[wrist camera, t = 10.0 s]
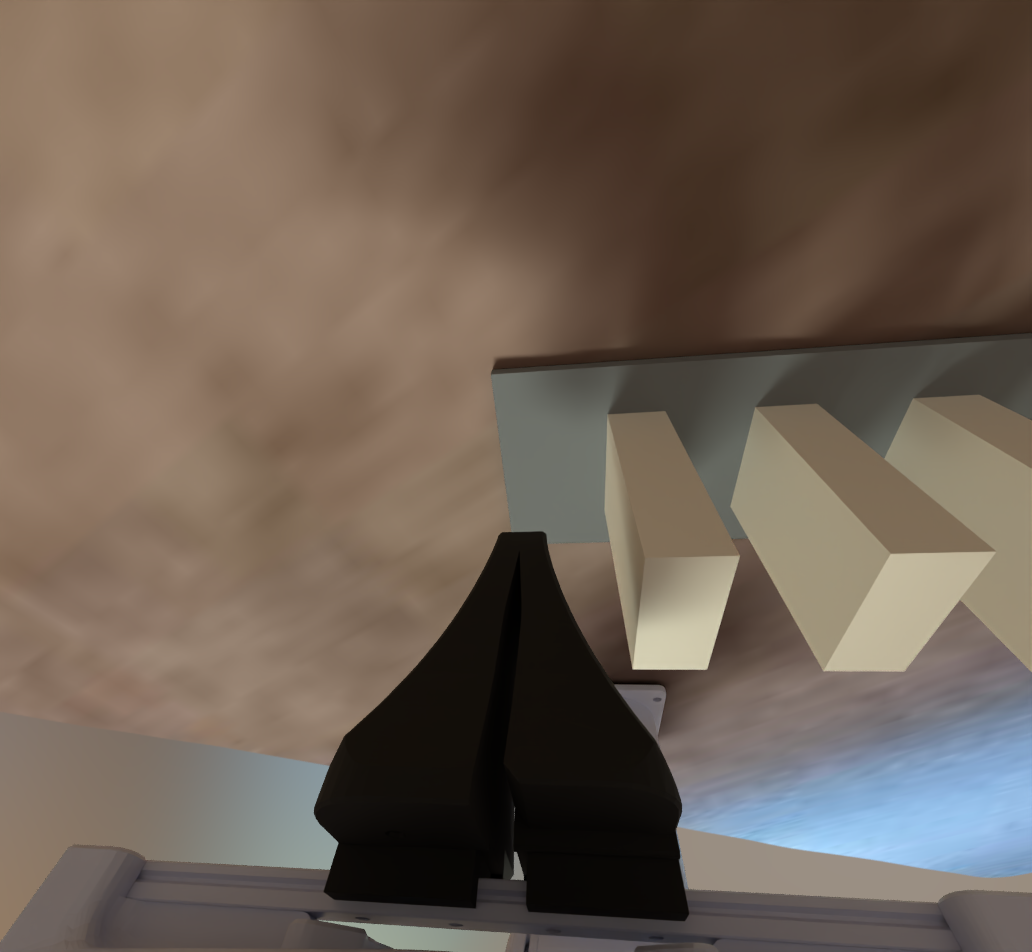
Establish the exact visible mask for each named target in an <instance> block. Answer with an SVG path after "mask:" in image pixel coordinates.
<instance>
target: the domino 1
mask: <svg viewBox="0 0 1032 952" xmlns="http://www.w3.org/2000/svg"><path fill="white" fill-rule="evenodd" d="M604 510H605V516H606V521H607V527H608V533H609V538H610V544H611V550H612V555H613V561H614V567H615V572H616V578H617V584H618V589H619V595H620V601H621V606H622V612H623V618H624V623H625V629H626V635H627V640H628V646H629V652H630V657H631V663H632V669H638V670H707V668H708V665H709V661H710V658H711V654H712V651H713V647H714V644H715V640H716V637H717V634H718V630H719V627H720V623H721V620H722V616H723V613H724V609H725V606H726V603H727V599H728V596H729V592H730V589H731V585H732V582H733V578H734V575H735V572H736V568H737V565H738V561H739V558H740V555H739V553H738V551H737V549H736V547H735V545H734V543H733V541H732V539H731V537H730V535H729V533H728V531H727V530H726V528H725V526H724V524H723V522H722V520H721V518H720V516H719V514H718V512H717V510H716V508H715V506H714V504H713V502H712V500H711V499H710V497H709V495H708V493H707V491H706V489H705V487H704V485H703V483H702V481H701V479H700V477H699V475H698V473H697V471H696V470H695V468H694V466H693V464H692V462H691V460H690V458H689V456H688V454H687V452H686V450H685V448H684V446H683V444H682V442H681V441H680V439H679V437H678V435H677V433H676V431H675V429H674V427H673V425H672V423H671V421H670V419H669V417H668V415H667V413H666V411H657V412H640V413H623V414H607V445H606V477H605V508H604Z"/></svg>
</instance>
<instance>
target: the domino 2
mask: <svg viewBox="0 0 1032 952" xmlns="http://www.w3.org/2000/svg"><path fill="white" fill-rule="evenodd" d="M730 507H731V508H732V510H733V512H734V514H735V516H736V517H737V519H738V521H739V523H740V524H741V526H742V528H743V530H744V531H745V533H746V535H747V537H748V539H749V540H750V542H751V544H752V546H753V547H754V549H755V551H756V553H757V554H758V556H759V558H760V560H761V562H762V563H763V565H764V567H765V569H766V570H767V572H768V574H769V576H770V577H771V579H772V581H773V583H774V585H775V586H776V588H777V590H778V592H779V593H780V595H781V597H782V599H783V600H784V602H785V604H786V606H787V608H788V609H789V611H790V613H791V615H792V616H793V618H794V620H795V622H796V623H797V625H798V627H799V629H800V631H801V632H802V634H803V636H804V638H805V639H806V641H807V643H808V645H809V646H810V648H811V650H812V652H813V654H814V655H815V657H816V659H817V661H818V662H819V664H820V666H821V668H822V669H823V671H905V670H906V669H907V667H908V666H909V665H910V663H911V662H912V661H913V660H914V658H915V657H916V656H917V654H918V653H919V652H920V650H921V649H922V648H923V647H924V645H925V644H926V643H927V641H928V640H929V639H930V637H931V636H932V635H933V634H934V632H935V631H936V630H937V628H938V627H939V626H940V625H941V623H942V622H943V621H944V619H945V618H946V617H947V615H948V614H949V613H950V612H951V610H952V609H953V608H954V606H955V605H956V604H957V602H958V601H959V600H960V599H961V597H962V596H963V595H964V593H965V592H966V591H967V589H968V588H969V587H970V586H971V584H972V583H973V582H974V580H975V579H976V578H977V577H978V575H979V574H980V573H981V571H982V570H983V569H984V567H985V566H986V565H987V564H988V562H989V561H990V560H991V558H992V557H993V556H994V554H995V553H996V552H997V551H995V550H994V549H993V548H992V547H991V546H989V545H988V544H987V543H986V542H985V541H983V540H982V539H981V538H980V537H978V536H977V535H976V534H975V533H974V532H972V531H971V530H970V529H969V528H968V527H966V526H965V525H964V524H963V523H961V522H960V521H959V520H958V519H957V518H955V517H954V516H953V515H952V514H950V513H949V512H948V511H947V510H946V509H944V508H943V507H942V506H941V505H940V504H938V503H937V502H936V501H935V500H933V499H932V498H931V497H930V496H929V495H927V494H926V493H925V492H924V491H923V490H921V489H920V488H919V487H918V486H916V485H915V484H914V483H913V482H912V481H910V480H909V479H908V478H907V477H906V476H904V475H903V474H902V473H901V472H899V471H898V470H897V469H896V468H895V467H893V466H892V465H891V464H890V463H889V462H887V461H886V460H885V459H884V458H882V457H881V456H880V455H879V454H878V453H876V452H875V451H874V450H873V449H872V448H870V447H869V446H868V445H867V444H865V443H864V442H863V441H862V440H861V439H859V438H858V437H857V436H856V435H855V434H853V433H852V432H851V431H850V430H848V429H847V428H846V427H845V426H844V425H842V424H841V423H840V422H839V421H838V420H836V419H835V418H834V417H833V416H831V415H830V414H829V413H828V412H827V411H825V410H824V409H823V408H822V407H821V406H819V405H818V404H802V405H784V406H766V407H755V410H754V414H753V418H752V422H751V426H750V430H749V434H748V438H747V442H746V446H745V450H744V454H743V458H742V462H741V466H740V470H739V474H738V478H737V482H736V486H735V490H734V494H733V498H732V502H731V506H730Z"/></svg>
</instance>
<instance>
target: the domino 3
mask: <svg viewBox="0 0 1032 952" xmlns="http://www.w3.org/2000/svg"><path fill="white" fill-rule="evenodd" d="M884 459H885V460H886V461H887V462H889V463H890V464H891V465H892V466H893V467H895V468H896V469H897V470H898V471H899V472H901V473H902V474H903V475H904V476H906V477H907V478H908V479H909V480H910V481H912V482H913V483H914V484H915V485H916V486H918V487H919V488H920V489H921V490H923V491H924V492H925V493H926V494H927V495H929V496H930V497H931V498H932V499H933V500H935V501H936V502H937V503H938V504H940V505H941V506H942V507H943V508H944V509H946V510H947V511H948V512H949V513H950V514H952V515H953V516H954V517H955V518H957V519H958V520H959V521H960V522H961V523H963V524H964V525H965V526H966V527H968V528H969V529H970V530H971V531H972V532H974V533H975V534H976V535H977V536H978V537H980V538H981V539H982V540H983V541H985V542H986V543H987V544H988V545H989V546H991V547H992V548H993V549H994V550H995V551H997V552H996V553H995V554H994V556H993V557H992V558H991V560H990V561H989V562H988V564H987V565H986V566H985V567H984V569H983V570H982V571H981V573H980V574H979V575H978V577H977V578H976V579H975V580H974V582H973V583H972V584H971V586H970V587H969V588H968V589H967V591H966V592H965V593H964V595H963V596H962V597H961V599H960V600H961V601H962V602H963V603H964V604H965V605H966V606H967V607H968V608H969V609H970V610H971V611H972V612H973V613H974V614H975V615H976V616H977V617H978V618H979V619H980V620H981V621H982V622H983V623H984V624H985V625H986V626H987V627H988V628H989V629H990V630H991V631H992V632H993V633H994V634H995V635H996V636H997V637H998V638H999V639H1000V641H1001V642H1002V643H1003V644H1004V645H1005V646H1006V647H1007V648H1008V649H1009V650H1010V651H1011V652H1012V653H1013V654H1014V655H1015V656H1016V657H1017V658H1018V659H1019V660H1020V661H1021V662H1022V663H1023V664H1024V665H1025V666H1026V667H1027V668H1028V669H1029V670H1030V671H1031V672H1032V420H1030V419H1028V418H1026V417H1024V416H1022V415H1020V414H1018V413H1016V412H1014V411H1012V410H1010V409H1007V408H1005V407H1003V406H1001V405H999V404H997V403H995V402H993V401H991V400H989V399H987V398H985V397H983V396H981V395H964V396H946V397H928V398H913V400H912V402H911V404H910V406H909V408H908V410H907V412H906V414H905V416H904V418H903V421H902V423H901V425H900V427H899V429H898V431H897V433H896V435H895V437H894V439H893V441H892V444H891V446H890V448H889V450H888V452H887V454H886V456H885V458H884Z"/></svg>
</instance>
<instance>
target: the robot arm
mask: <svg viewBox="0 0 1032 952" xmlns="http://www.w3.org/2000/svg"><path fill="white" fill-rule="evenodd" d="M665 699H666V690H665V688H664V687H663V686H661V685H621V684H613V683H612V681H611V680H610V678H609V677H608V675H607V674H606V672H605V670H604V669H603V667H602V666H601V664H600V663H599V661H598V660H597V658H596V657H595V655H594V653H593V652H592V650H591V648H590V646H589V645H588V643H587V641H586V639H585V638H584V636H583V634H582V632H581V630H580V629H579V627H578V625H577V623H576V621H575V619H574V617H573V615H572V613H571V611H570V608H569V606H568V604H567V602H566V600H565V597H564V595H563V593H562V590H561V588H560V585H559V582H558V580H557V577H556V574H555V572H554V569H553V566H552V562H551V559H550V555H549V551H548V545H547V534H546V533H544V532H543V531H532V532H502V533H501V534H500V535H499V536H498V539H497V541H496V544H495V546H494V549H493V551H492V553H491V555H490V557H489V559H488V561H487V563H486V565H485V567H484V569H483V571H482V573H481V575H480V577H479V578H478V580H477V582H476V584H475V586H474V587H473V589H472V591H471V592H470V594H469V596H468V597H467V599H466V600H465V602H464V604H463V605H462V607H461V608H460V610H459V611H458V613H457V614H456V616H455V617H454V619H453V620H452V622H451V623H450V624H449V626H448V627H447V629H446V630H445V631H444V633H443V634H442V635H441V637H440V638H439V639H438V641H437V642H436V643H435V644H434V645H433V647H432V648H431V649H430V650H429V652H428V653H427V654H426V655H425V656H424V658H423V659H422V660H421V661H420V662H419V663H418V665H417V666H416V667H415V668H414V669H413V670H412V671H411V672H410V673H409V675H408V676H407V677H406V678H405V679H404V680H403V681H402V682H401V683H400V684H399V685H398V686H397V687H396V688H395V689H394V690H393V691H392V692H391V693H390V694H389V695H388V696H387V697H386V698H385V699H384V700H383V701H382V702H381V703H380V704H379V705H378V706H377V707H376V708H375V709H374V710H373V711H372V712H370V713H369V714H368V715H367V716H366V717H365V718H364V719H363V720H362V721H361V722H360V723H358V724H357V725H356V726H355V727H354V728H353V729H352V730H351V731H350V732H348V733H347V734H346V735H345V736H344V738H343V740H342V742H341V744H340V746H339V748H338V750H337V752H336V754H335V756H334V758H333V760H332V762H331V764H330V767H329V769H328V772H327V775H326V777H325V780H324V783H323V785H322V788H321V791H320V793H319V796H318V799H317V802H316V804H315V807H314V815H315V817H316V819H317V820H318V822H319V824H320V825H321V826H322V827H324V829H326V831H327V832H328V833H330V834H331V835H332V836H333V837H334V838H335V839H336V840H337V841H338V842H339V844H338V847H337V850H336V853H335V856H334V859H333V863H332V866H331V869H330V870H321V869H320V870H319V869H302V868H283V867H282V868H281V867H263V866H247V865H228V864H227V865H226V864H209V863H191V862H172V861H153V860H145V857H143V856H142V855H140V854H139V853H137V852H135V851H132V850H129V849H125V848H121V847H113V846H94V845H73V846H70V847H68V848H67V850H66V851H65V853H64V854H63V855H62V857H61V858H60V860H59V861H58V862H57V864H56V865H55V867H54V868H53V869H52V871H51V872H50V874H49V875H48V876H47V878H46V879H45V881H44V882H43V883H42V885H41V886H40V887H39V889H38V890H37V892H36V893H35V894H34V896H33V897H32V899H31V900H30V902H29V903H28V904H27V906H26V907H25V908H24V910H23V911H22V913H21V914H20V915H19V917H18V918H17V920H16V921H15V923H14V924H13V925H12V926H11V928H10V929H9V931H8V932H7V933H6V935H5V936H4V938H3V939H2V940H1V942H0V952H447V951H428V950H400V949H399V950H397V949H393V948H391V947H388V946H386V945H383V944H381V943H378V942H376V941H375V940H373V939H372V938H370V937H368V936H367V934H366V932H365V930H364V929H361V928H355V927H349V926H344V925H338V924H334V923H328V922H322V921H319V920H326V921H342V922H356V923H371V924H386V925H401V926H417V927H431V928H446V929H461V930H476V931H491V932H507V933H510V936H509V939H508V942H507V946H506V951H505V952H1032V893H1023V892H1004V891H984V890H965V891H957V892H953V893H949V894H947V895H945V896H943V897H942V898H941V899H940V900H939V902H938V903H934V902H915V901H896V900H878V899H859V898H841V897H822V896H803V895H784V894H765V893H747V892H729V891H711V890H692V889H688V885H687V880H686V875H685V870H684V865H683V860H682V855H681V850H680V845H679V840H678V835H677V830H676V828H677V825H678V822H679V819H680V817H681V814H682V803H681V799H680V796H679V793H678V789H677V786H676V784H675V781H674V779H673V776H672V774H671V771H670V769H669V767H668V765H667V763H666V760H665V758H664V756H663V754H662V752H661V750H660V745H659V740H658V733H659V728H660V723H661V718H662V714H663V709H664V704H665ZM514 806H515V818H514ZM514 852H517V854H518V857H519V860H520V864H521V867H522V871H523V874H524V880H510V879H511V878H512V876H513V874H514ZM448 952H449V951H448Z"/></svg>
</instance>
